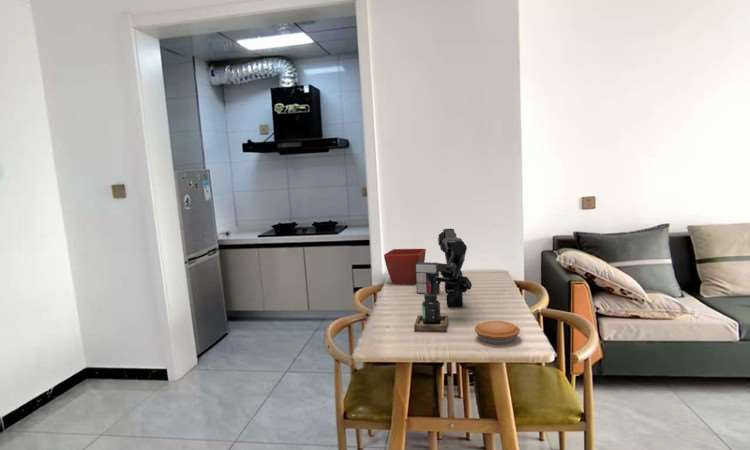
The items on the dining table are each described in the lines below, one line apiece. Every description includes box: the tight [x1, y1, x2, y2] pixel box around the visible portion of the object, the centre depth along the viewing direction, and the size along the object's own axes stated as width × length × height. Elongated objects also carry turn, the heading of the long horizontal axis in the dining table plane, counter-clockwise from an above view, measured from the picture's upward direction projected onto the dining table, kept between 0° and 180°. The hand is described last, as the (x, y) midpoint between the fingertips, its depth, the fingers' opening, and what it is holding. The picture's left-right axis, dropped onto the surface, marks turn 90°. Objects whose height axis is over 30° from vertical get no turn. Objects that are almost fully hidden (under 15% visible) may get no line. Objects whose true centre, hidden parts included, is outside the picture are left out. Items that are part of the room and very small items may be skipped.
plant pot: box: [383, 248, 427, 285], centre depth 255 cm, size 19×19×17 cm
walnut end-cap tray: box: [413, 314, 449, 333], centre depth 181 cm, size 12×12×2 cm
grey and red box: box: [415, 261, 441, 295], centre depth 229 cm, size 11×4×15 cm, turn 68°
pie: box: [474, 320, 521, 346], centre depth 164 cm, size 16×16×5 cm
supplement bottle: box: [421, 293, 441, 325], centre depth 180 cm, size 7×7×12 cm
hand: (441, 298), depth 186 cm, fingers open, 9 cm apart
